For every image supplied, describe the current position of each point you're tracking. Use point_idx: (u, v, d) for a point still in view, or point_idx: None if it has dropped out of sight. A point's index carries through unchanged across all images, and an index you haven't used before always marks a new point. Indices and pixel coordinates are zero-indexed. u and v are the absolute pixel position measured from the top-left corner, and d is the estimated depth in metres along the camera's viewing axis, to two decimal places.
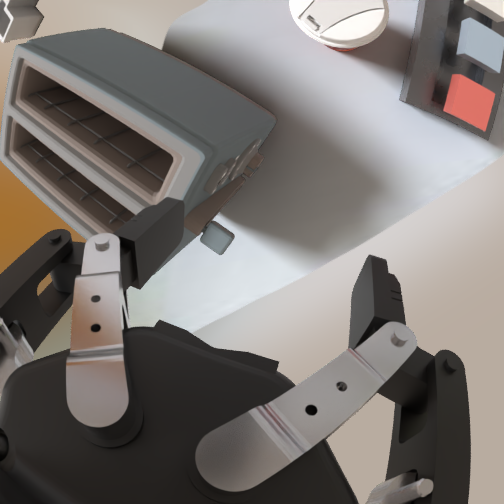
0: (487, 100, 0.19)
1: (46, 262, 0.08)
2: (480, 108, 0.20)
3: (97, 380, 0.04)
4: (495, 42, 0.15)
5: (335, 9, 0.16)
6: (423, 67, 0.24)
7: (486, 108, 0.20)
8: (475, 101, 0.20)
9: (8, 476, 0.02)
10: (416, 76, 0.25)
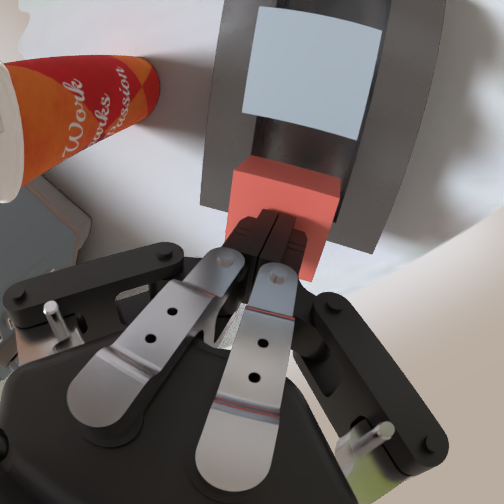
0: (313, 218, 0.12)
1: (137, 275, 0.08)
2: None
3: (109, 385, 0.04)
4: (344, 51, 0.08)
5: None
6: (223, 137, 0.17)
7: (312, 236, 0.13)
8: None
9: (8, 476, 0.02)
10: (212, 157, 0.18)
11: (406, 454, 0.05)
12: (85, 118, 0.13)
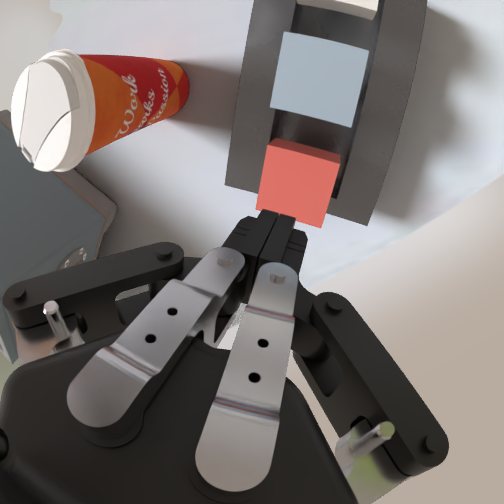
0: (322, 178, 0.17)
1: (137, 275, 0.08)
2: (308, 194, 0.18)
3: (109, 384, 0.04)
4: (343, 65, 0.13)
5: (36, 131, 0.13)
6: (246, 129, 0.21)
7: (321, 192, 0.18)
8: (298, 184, 0.18)
9: (8, 476, 0.02)
10: (237, 145, 0.22)
11: (406, 454, 0.05)
12: (136, 107, 0.18)
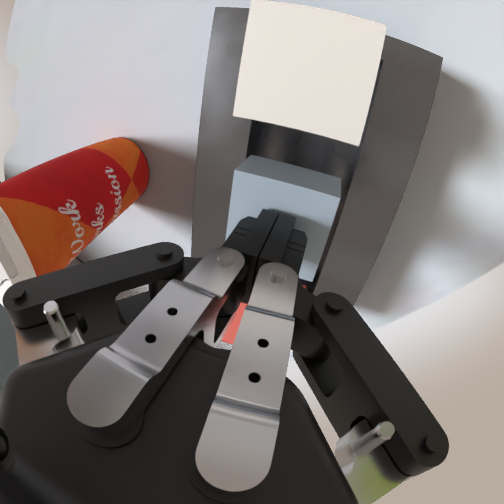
0: None
1: (137, 275, 0.08)
2: None
3: (109, 384, 0.04)
4: (305, 217, 0.12)
5: None
6: (207, 241, 0.20)
7: None
8: None
9: (8, 476, 0.02)
10: (198, 256, 0.21)
11: (406, 454, 0.05)
12: (83, 232, 0.17)
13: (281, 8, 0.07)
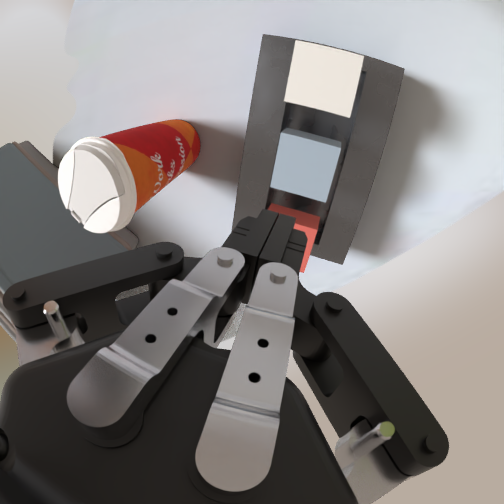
0: None
1: (137, 275, 0.08)
2: None
3: (109, 384, 0.04)
4: (321, 159, 0.21)
5: (85, 202, 0.21)
6: (248, 191, 0.29)
7: None
8: None
9: (8, 476, 0.02)
10: (241, 203, 0.29)
11: (406, 454, 0.05)
12: (162, 178, 0.25)
13: (311, 46, 0.15)
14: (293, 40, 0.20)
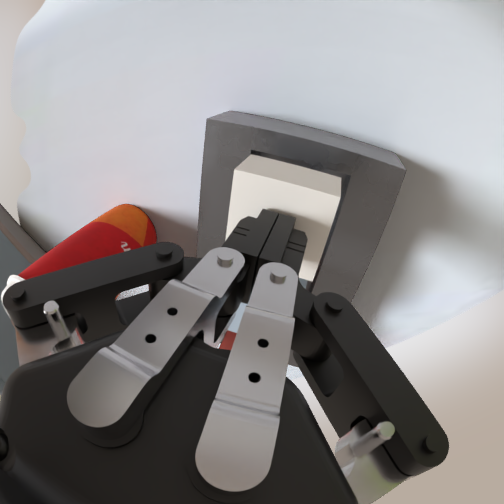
0: None
1: (137, 275, 0.08)
2: None
3: (109, 384, 0.04)
4: None
5: None
6: None
7: None
8: None
9: (8, 476, 0.02)
10: None
11: (406, 454, 0.05)
12: None
13: (257, 180, 0.12)
14: (248, 128, 0.16)
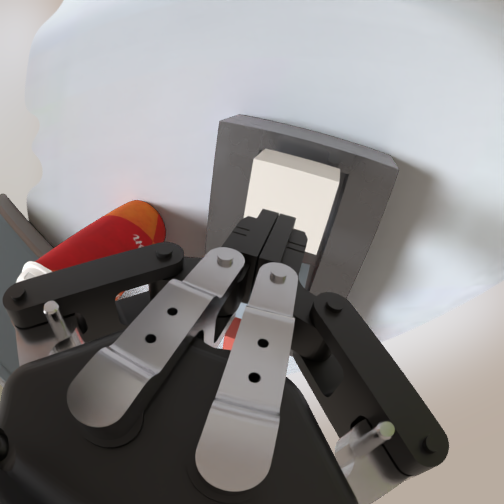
0: None
1: (137, 275, 0.08)
2: None
3: (109, 385, 0.04)
4: None
5: None
6: None
7: None
8: None
9: (8, 476, 0.02)
10: None
11: (406, 454, 0.05)
12: None
13: (272, 168, 0.15)
14: (257, 130, 0.18)
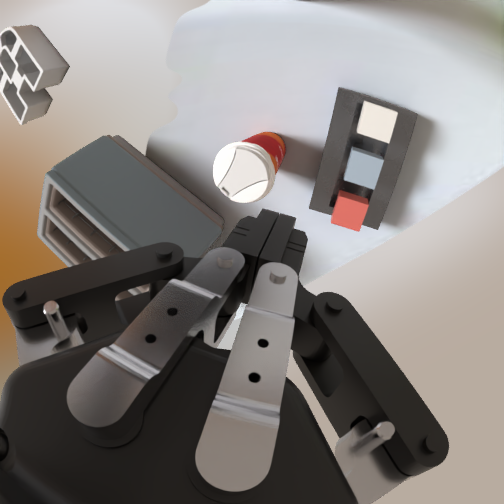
0: (361, 211, 0.41)
1: (137, 275, 0.08)
2: (355, 217, 0.42)
3: (109, 384, 0.04)
4: (373, 166, 0.37)
5: (237, 182, 0.37)
6: (323, 182, 0.45)
7: (360, 216, 0.41)
8: (350, 213, 0.41)
9: (8, 476, 0.02)
10: (317, 189, 0.46)
11: (406, 454, 0.05)
12: None
13: (372, 105, 0.33)
14: (356, 93, 0.36)
